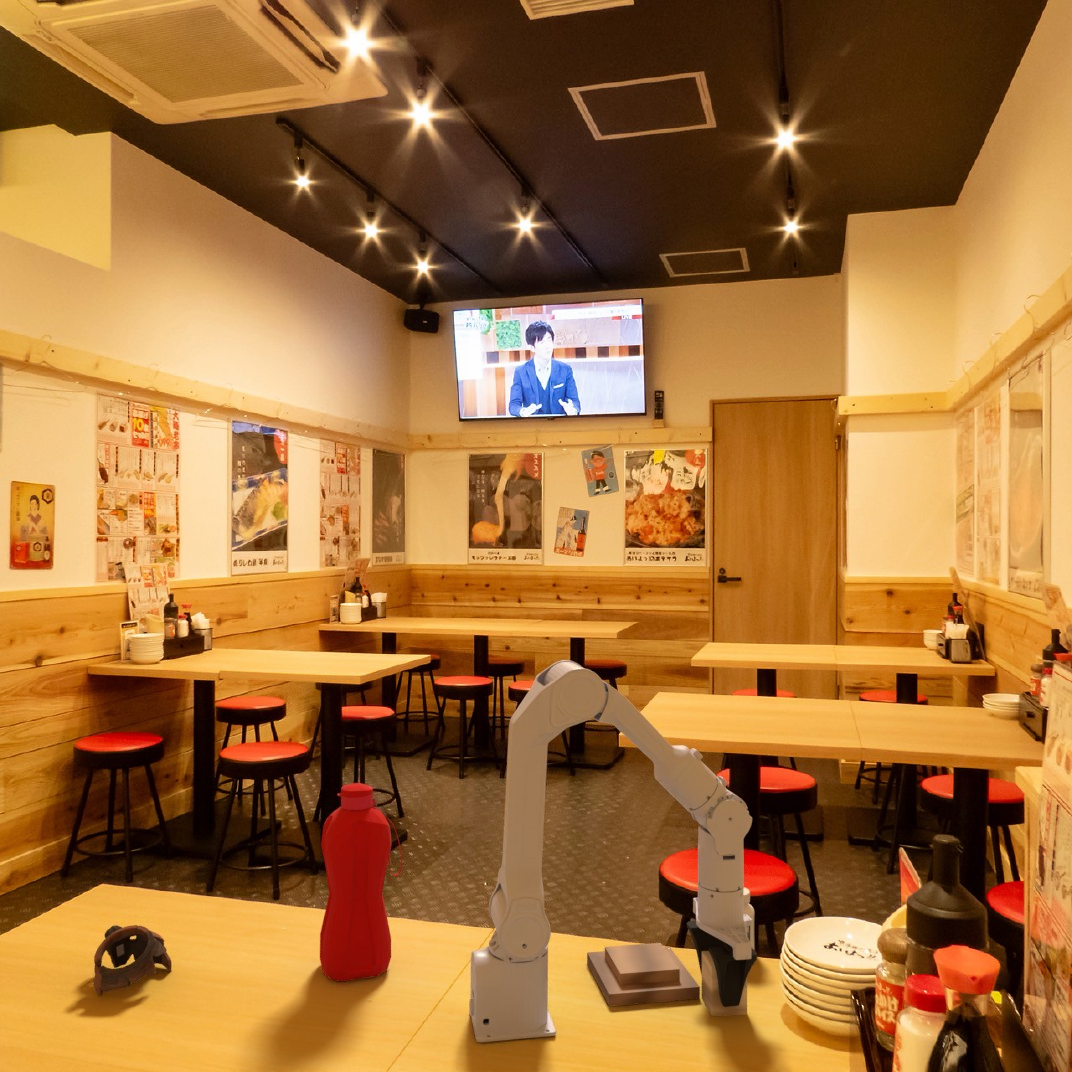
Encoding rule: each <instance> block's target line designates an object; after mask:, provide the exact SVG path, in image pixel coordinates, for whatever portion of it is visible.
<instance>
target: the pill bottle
mask: <svg viewBox="0 0 1072 1072" xmlns="http://www.w3.org/2000/svg"><path fill="white" fill-rule="evenodd" d="M750 902H751V892H750V890H749V888H747V887H745V886H744V914H746V915H748V916H749V917H750V918H751V919H752V925H750V926H746V930H747V937H748V939H749V941H750V942H751V948H753V949H754V950H755V951H756V945H755V944H756V940H755V939H756V938H755V936H756V934H755V933H756V931H755V930H756V929H755V927H756V925H755V920H756V919H755V917H756V916H755V914H756V913H755V909H754V907H753V906H752V904H750Z"/></svg>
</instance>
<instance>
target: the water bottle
mask: <svg viewBox="0 0 1072 1072" xmlns="http://www.w3.org/2000/svg"><path fill="white" fill-rule="evenodd" d="M340 788H341V790H340V791H341V792H340V793H337V794H336V795H337V796H338V797H340V802H341V803H340V806H339V807H338V808H337V809H335V810H334V811H332V812H331V813H330V814H329V816H328V817H327V818H326V820H325V822H324V824H323V826H322V827H323V828H322V835H321V841H320V842H321V843H320V844H321V850H322V855H323V860H324V867H325V872H326V881H327V887H328V893H329V894H328V899H327V902H326V908H325V910H324V911H325V912H324V916H323V920H322V924H321V929H320V933H319V961H320V965H321V969H322V973H323V974H324V975H325V976H326V977H328V979H330V980H332V981H336V982H341V983H343V982H344V983H345V982H350V981H355V980H358V979H368V978H375V977H379V975H381V974H383V973H384V972H386V971H387V970H388V969H389V965H390V962H391V959H392V936H391V931H390V926H389V921H388V916H387V910H386V904H385V900H384V899H385V898H384V894H383V892H384V885H385V879H386V872H387V868H388V869H389V873H390V874H391V875H392V876H394V877H397V876H399V875H400V874H401V871H402V869H403V857H402V856H403V855H402V849H401V844H400V840H399V836H398V833H397V829H396V827H395V825H394V823H393V822H392V821H391V820H390V819H389V818H388V816H387V814H386V813H385V812H384V811H383V810H382V809H380V808H379V807H378V804H377V802H378V800H377V798H374V791H373V790H374V788H373V787H372V786H371V785H368V784H365V783H361V782H353V783H348V784H345V785H342V787H340ZM389 822H390V823H391V824H392V826H393V828H394V831H395V834H396V837H397V841H398V846H399V853H400V868H399V871H398V873H396V874H393V873H392V871H391V867H390V866H391V864H390V861H391V859H390V857H391V854H390V853H391V851H392V850H391V849H392V833H391V831H392V830H391V826H390V824H389Z"/></svg>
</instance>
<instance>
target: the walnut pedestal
mask: <svg viewBox="0 0 1072 1072" xmlns="http://www.w3.org/2000/svg"><path fill="white" fill-rule="evenodd" d="M668 948H670V949H668ZM586 959H587V960H586V963H587V966H588V968H589V970H590V972H591V974H592V976H593V978H594V979H595V980H594V981H596V984H597V985H598V988H599V989H600V992H601V993H602V994H603V997H604V999H605V1001H606V1002H607V1005H608V1006H609V1007H617V1006H619V1007H620V1006H628V1005H629V1006H630V1005H638V1004H639V1005H640V1004H651V1003H664V1002H665V1001H666V1002H675V1001H676V1000H678V1001H690V1000H699V999H700V998H701V996H700V995H701V994H700V993H701V989H700V988H701V987H700V985H699V984H698V983H697V981H696V980H695V979H694V977H693V976H692V975H691V973H690V972H689V970H688V969H687V967H686V966H685V965H684V964H683V962H682V961H681V960H680V959H679V957H678V956H677V954H676V953H675V952H674V951H673V949H672V948H671V947H670V946H663V944H662V943H661V942H654V943H640V944H638V943H637V944H626V945H613V946H610V945H609V946H604V951H603V950H602V951H590V952H589V951H588V952H586ZM688 999H689V1000H688ZM674 1000H675V1001H674ZM666 1002H665V1003H666Z"/></svg>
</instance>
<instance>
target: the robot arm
mask: <svg viewBox="0 0 1072 1072" xmlns="http://www.w3.org/2000/svg"><path fill="white" fill-rule="evenodd" d="M592 718H593V720H595V721H597V722H598V723H600V724H608V725H612V726H614V727H615V728H616V729H617V730H618V731H619V732H620V733H621V734H622V735H624V736H625V737H626V739H628V740H629V741H630V742H631V743H632V744H633V745H634V746H635V747H637V748H638V750H640V751H641V753H643V755H645V756H646V757H647V758H648V759H649V760H650V761H652V763H653V774H654V775H653V776H654V779H655V781H656V782H658V783H659V784H660V785H661V786H662V788H664V789H665V790H666V791H667V793H669V794H670V795H671V796H672V797H673V798H674V799H675V800H676V801H677V802H678V803H679V804H680V805H681V806H682V807H683V808H684V809H685V810H686V811H687V812H688V813H690V815H691V817H692V819H693V821H695V822H697V823H698V824H699V825H698V826H697V828H698V831H697V832H698V833H697V834H698V838H697V839H698V840H697V841H698V843H697V897H693V898H692V901H693V902H692V905H693V906H692V912H693V914H695V920H689V921H687V922H686V928H687V929H688V931H689V933H690V936H691V938H692V941H693V944H694V948H695V950H696V955H697V960H698V965H699V969H700V973H701V975H700V976H702V951H709V953H710V955H711V957H712V959H713V962H714V965H715V968H716V973H717V978H718V986H719V995H720V1000H721V1003H722V1005H723V1006H724V1007H730V1006H739V1004H740V1000H741V996H742V992H743V988H744V984H745V981H746V978H747V979H748V975H749V974H750V970H751V969H752V967H753V966H754V964H755V963H756V961H757V960H758V959H757V958H758V953H757V951H756V949H755V950H754V949H753V948H751V942H750V941H749V939H748V937H747V930H746V926H750V925H752V919H751V918H750V917H749V916H748V915H746V914H744V887H745V885H744V884H745V881H744V880H745V879H744V878H745V877H744V874H745V873H744V872H745V871H744V870H745V868H744V863H745V862H744V861H745V860H744V853H745V851H744V839H745V837H746V835H747V834H748V833H749V831H750V829H751V827H752V823H753V817H752V816H751V815H750V812H749V810H748V809H749V808H748V806H747V803H746V802H745V801H744V800H743V798H741V797H739V796H738V795H737V794H735V793H734V792H732V791H730V790H729V789H728V788H727V787H726V786H727V785H728V781H727V780H726V779H725V778H724V777H723V776H721V775H719V776H717V775H716V774H715V773H714V772H713V771H712V770H711V769H710V768H709V767H708V766H707V765H706V764H705V763H704V762H703V761H702V759H703V758H704V756H703V754H702V753H701V752H699V750H698V749H696V748H694V747H692V748H691V749H690V748H689V747H688V746H686V745H684V744H683V745H681V744H680V745H679V744H678V745H676V744H675V745H672V744H671V743H669V741H668V740H667V739H666V738H665V737H664V736H663V735H662V734H661V733H660V732H659V731H658V730H657V729H656V728H655V727H654V725H653V724H651V722H650V721H649V720H648V719H647V718H646V717H645V716H644V715H643V714H642V713H641V712H640V711H639V710H638V708H636V706H635V705H634V704H633V703H632V702H631V701H630V700H629V699H628V698H627V697H626V696H625V695H624V694H622V693H621V692H620V691H619V690H617V689H616V688H615V687H613V686H612V685H611V684H609V683H608V682H606V681H604V680H603V679H602V678H601V677H600V676H599V675H598V674H597V673H596V672H595V671H592V670H591V669H589V668H584V667H583V666H582V665H581V664H579V663H577V662H575V661H573V660H569V659H562V660H558V661H555V662H553V663H552V664H551V665H549V666H548V667H547V668H544V670H542V671H541V672H539V673H538V674H537V675H536V676H535V678H534V680H533V683H532V684H531V687H530V689H529V690H528V691H527V693H526V695H525V696H524V698H523V699H522V701H521V702H520V704H519V705H518V707H517V709H516V710H515V711H514V713H513V714H512V715H511V717H510V720H509V723H508V734H507V735H508V738H507V755H506V763H507V764H506V779H505V798H504V799H505V800H504V816H503V817H504V820H503V821H504V822H503V835H502V836H503V837H502V855H501V856H502V859H501V860H502V861H501V862H502V863H501V866H500V868H499V870H498V872H497V882H496V886H495V889H493V891H492V894H491V896H490V898H489V903H488V912H489V915H490V918H491V920H492V921H493V925H494V927H495V930H494V932H493V934H492V935H491V938H490V940H489V942H488V946H485V947H483V948H481V949H476V950H472V952H471V954H470V955H471V956H470V999H469V1004H468V1005H469V1015H470V1017H471V1022H472V1028H473V1031H474V1037H475V1041H476V1042H478V1043H488V1042H500V1041H509V1040H510V1041H511V1040H521V1039H533V1038H544V1037H545V1038H546V1037H553V1036H554V1037H555V1035H556V1034H557V1030H556V1027H555V1024H554V1021H553V1019H552V1016H551V1014H550V1011H549V1009H548V1008H549V1007H548V1003H549V1002H548V999H549V997H548V996H549V993H548V992H549V991H548V990H549V983H548V982H549V976H548V975H549V942H550V939H551V934H552V932H551V931H552V929H551V928H552V927H551V925H550V920H549V919H548V916H547V915H546V911H545V890H544V883H543V875H542V872H543V871H542V870H543V868H542V867H543V853H544V852H543V851H544V850H543V848H544V833H545V832H544V831H545V830H544V828H545V827H544V826H545V812H546V811H545V808H546V789H547V785H546V784H547V769H548V765H547V764H548V746H549V743H550V742H551V741H552V740H554V739H555V738H556V737H557V736H559V735H560V734H561V733H563V731H565V730H566V729H568V728H570V727H574V726H576V725H579V724H581V723H584V722H586V721H589V720H590V719H592Z"/></svg>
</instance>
